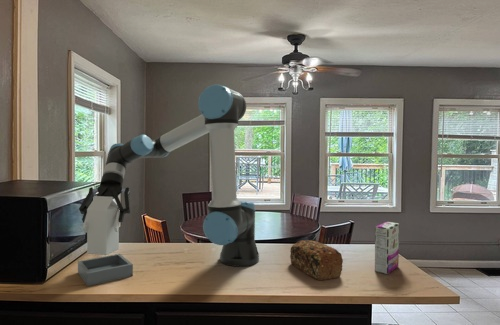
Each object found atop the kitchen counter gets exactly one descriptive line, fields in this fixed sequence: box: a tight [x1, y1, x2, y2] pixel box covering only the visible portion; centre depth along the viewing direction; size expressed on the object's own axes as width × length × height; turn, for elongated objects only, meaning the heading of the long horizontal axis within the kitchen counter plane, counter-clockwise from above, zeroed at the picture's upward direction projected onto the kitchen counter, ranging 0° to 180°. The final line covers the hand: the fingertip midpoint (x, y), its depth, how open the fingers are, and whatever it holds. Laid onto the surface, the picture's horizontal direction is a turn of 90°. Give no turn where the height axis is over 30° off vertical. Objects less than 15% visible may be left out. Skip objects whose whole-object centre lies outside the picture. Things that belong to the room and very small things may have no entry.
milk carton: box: [86, 195, 120, 256], centre depth 111 cm, size 7×7×19 cm
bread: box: [289, 239, 344, 281], centre depth 118 cm, size 19×11×10 cm, turn 22°
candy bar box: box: [374, 221, 400, 275], centre depth 119 cm, size 11×5×16 cm, turn 137°
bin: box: [77, 253, 134, 287], centre depth 112 cm, size 14×14×4 cm
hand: (100, 230), depth 108 cm, fingers closed on milk carton, 9 cm apart
